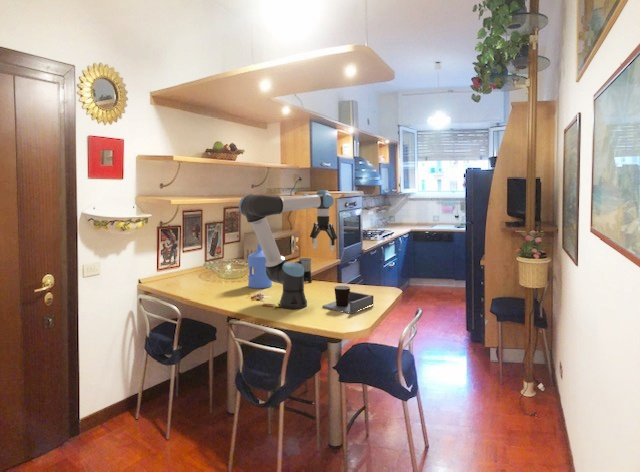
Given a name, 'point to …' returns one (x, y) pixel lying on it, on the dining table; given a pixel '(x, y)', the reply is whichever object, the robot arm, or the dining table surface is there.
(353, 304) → the corner arena
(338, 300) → the coffee mug
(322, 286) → the dining table surface
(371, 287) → the dining table surface
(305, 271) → the milk frother
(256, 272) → the water jug
